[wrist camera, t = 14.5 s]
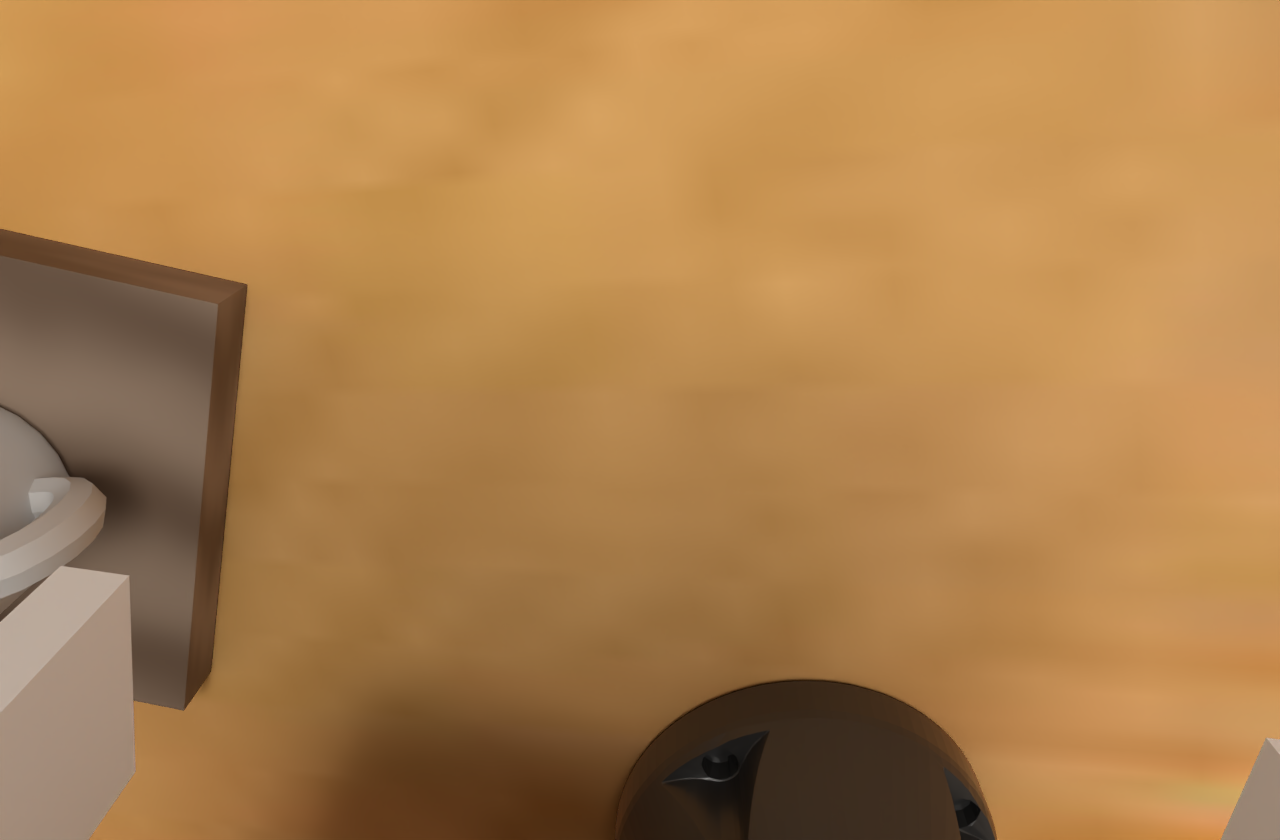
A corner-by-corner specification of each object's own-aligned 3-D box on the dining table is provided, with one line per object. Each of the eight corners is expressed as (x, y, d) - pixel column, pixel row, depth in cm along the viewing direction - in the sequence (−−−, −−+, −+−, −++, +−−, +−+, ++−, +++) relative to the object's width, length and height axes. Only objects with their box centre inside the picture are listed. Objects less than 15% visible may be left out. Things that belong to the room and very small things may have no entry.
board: (210, 671, 42) (183, 710, 40) (-125, 602, 41) (-172, 638, 39) (247, 284, 36) (218, 304, 34) (-142, 196, 36) (-199, 210, 33)
